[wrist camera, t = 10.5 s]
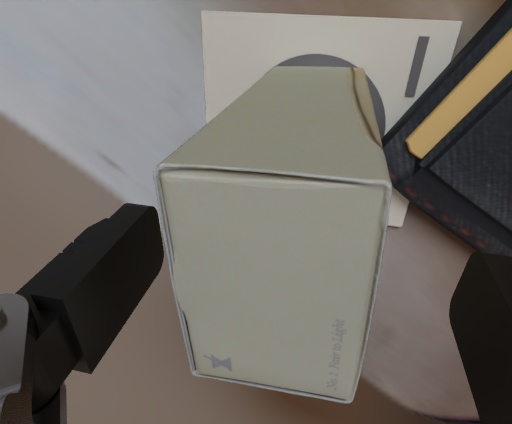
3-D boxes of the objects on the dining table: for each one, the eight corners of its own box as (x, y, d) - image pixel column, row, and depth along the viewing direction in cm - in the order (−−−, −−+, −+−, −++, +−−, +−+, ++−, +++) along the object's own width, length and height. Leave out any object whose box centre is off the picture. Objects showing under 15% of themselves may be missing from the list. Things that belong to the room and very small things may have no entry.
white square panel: (460, 21, 14) (463, 21, 14) (401, 224, 20) (402, 228, 19) (203, 10, 16) (200, 10, 16) (212, 199, 21) (209, 203, 21)
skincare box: (350, 187, 19) (359, 414, 9) (267, 182, 20) (188, 382, 10) (365, 60, 16) (410, 183, 5) (266, 60, 16) (143, 166, 6)
